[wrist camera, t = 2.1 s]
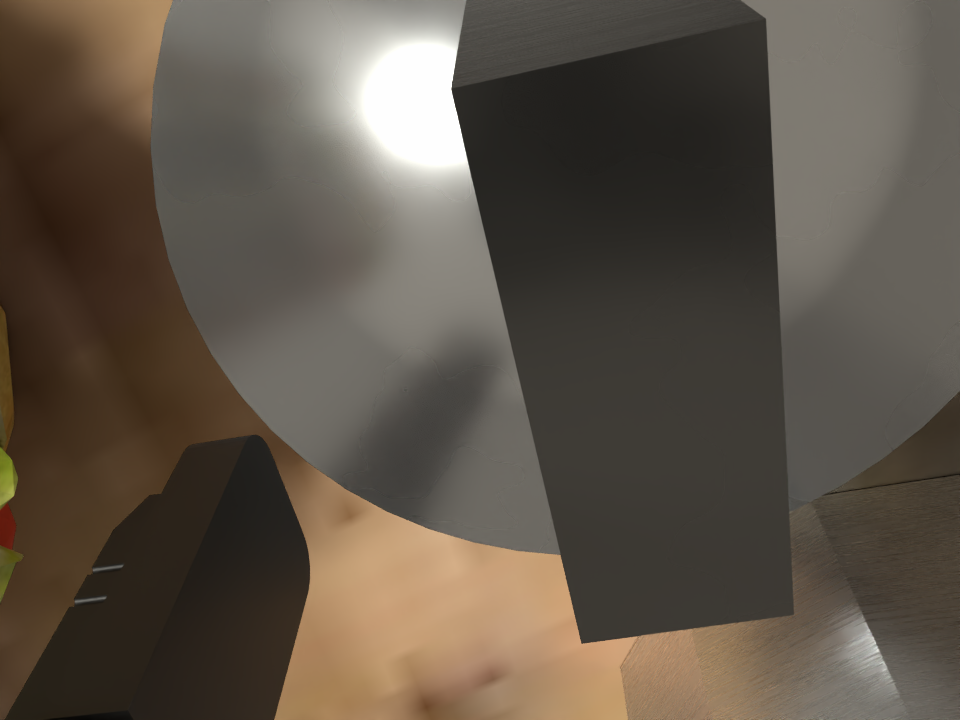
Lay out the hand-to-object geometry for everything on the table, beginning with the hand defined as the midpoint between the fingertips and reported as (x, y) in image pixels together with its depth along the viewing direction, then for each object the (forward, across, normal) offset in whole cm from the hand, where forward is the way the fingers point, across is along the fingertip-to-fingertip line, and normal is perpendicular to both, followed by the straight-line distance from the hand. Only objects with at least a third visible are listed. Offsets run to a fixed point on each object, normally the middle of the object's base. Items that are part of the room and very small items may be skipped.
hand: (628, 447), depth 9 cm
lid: (+6, 0, -1) cm, 7 cm away
